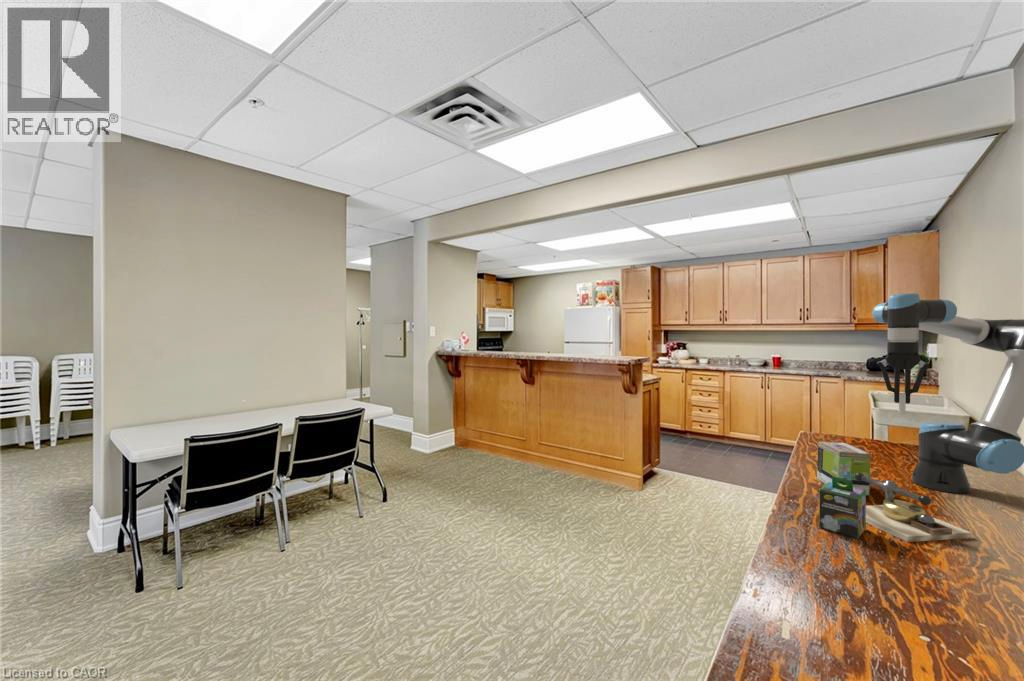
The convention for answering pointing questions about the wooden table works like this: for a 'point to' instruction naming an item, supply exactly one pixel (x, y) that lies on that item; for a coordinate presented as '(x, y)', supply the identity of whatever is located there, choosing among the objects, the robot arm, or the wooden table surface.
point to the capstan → (896, 507)
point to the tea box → (843, 463)
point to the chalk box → (842, 508)
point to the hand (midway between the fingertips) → (901, 413)
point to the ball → (926, 520)
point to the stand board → (913, 527)
